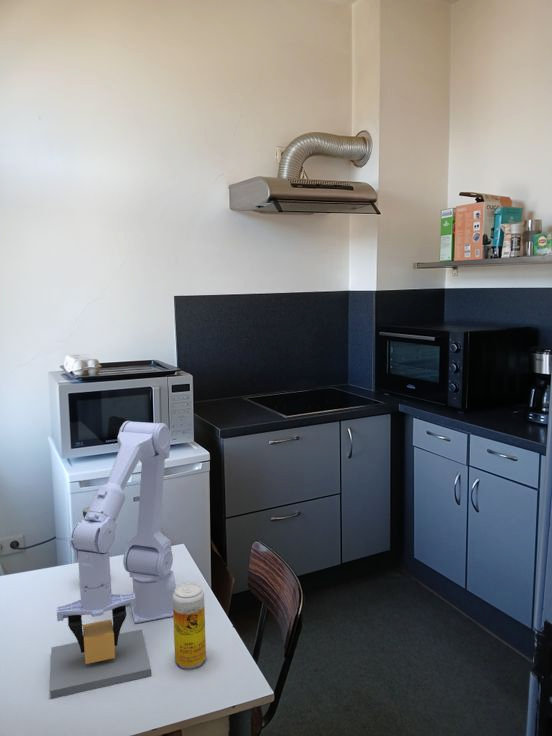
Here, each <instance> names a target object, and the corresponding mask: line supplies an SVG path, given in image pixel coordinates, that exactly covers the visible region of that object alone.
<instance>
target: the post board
mask: <svg viewBox="0 0 552 736" xmlns="http://www.w3.org/2000/svg"><path fill="white" fill-rule="evenodd" d="M144 637H145V636H144V632H143V629H137V630H131V631H127V632H122V633H119V637H118V643H117V646H115V658H112V659H108V660H103V661H98V662H94V663H89V664H85V652H83V653H81V649H80V646H79V643H78V641H77V642H72V643H67V644H62V645H58V646H51V651H50V652H51V653H50V683H49V686H50V687H49V693H50V694H49V695H50V699H55V698H60V697H63V696H68V695H73V694H76V693H77V694H78V693H81V692H86V691H90V690H95V689H100V688H104V687H109V686H112V685H117V684H123V683H126V682H131V681H136V680H139V679H144V678H148V677H151V676H152V666H151V663H150V658H149V654H148V651H147V645H146V642H145V638H144Z"/></svg>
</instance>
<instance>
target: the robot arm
mask: <svg viewBox="0 0 552 736" xmlns="http://www.w3.org/2000/svg"><path fill="white" fill-rule="evenodd" d="M171 435H172V434H171V431H170V429H169V427H168V426H167V424H166V423H165V422H160V423H159V422H158V423H157V422H145V421H144V422H141V421H132V420H126V421H124V422H123V423H122V425H121V426H120V428H119V431H118V435H117V445H118V452H117V455H116V457H115V460H114V463H113V465H112V469H111V471H110V472H109V473H110V474H109V477H108V479H107V482H106V483H105V484H103V485H101V486H99V487H98V488H97V491H96V493H95V494H94V497H93V498H92V501H91V503H90V505H89V506H90V507H89V506H88V507H89V509H88V512H87V514H86V516H85V518H84V517H83V519H82V520H80V521H79V522H77V523H76V524H75V525H74V527H73V528H72V530H71V531H72V532H71V536H70V539H69V543H70V547H71V549H72V550H73V551H74V557H75V559H76V560H77V561H78V575H79V591H80V593H79V594H80V599H79V600H77V601H72V602H70V603H68V604H65V605H61V606H57V607H56V622H62V621H64V619H67V625H68V628H69V629H70V632H72V633H73V635H74V636H75V639H76V641H77V642H78V643H79V646H80V649H81V653H83V652H85V650H84V635H83V620H82V616H83V615H87V616H88V615H90V616H91V617H93V618H94V617H99V616H100V617H101V616H103V615H104V613H105V612H108V611H110V610H111V613H112V625H113V632H114V646H117V643H118V637H119V634H121V633H120V632H121V629H122V626H123V624H124V622H125V620H126V617H127V608H128V607H129V608H131V613H132V618H133V621H134V623H135V624H139V623H144V622H149V621H155V620H160V619H164V618H170V617H173V594H174V592H175V589H176V587H177V586H176V585H177V584H176V578H175V572H174V571H173V570H171V569H172V566H173V562H174V556H173V551H172V541H171V540H170V538H168V537H167V536H166V535H165V534H164V533H162V531H161V530H162V529H161V527H162V512H163V509H162V508H163V494H164V493H163V492H164V478H165V462H166V461H165V460H166V459H169V458H170V451H171ZM139 462H140V463H141V467H140V468H141V469H140V486H139V502H138V503H139V504H138V516H137V519H138V520H137V529H136V530H137V531H136V533H134V534H133V535H132V536H130V538H128V540H127V542H126V547H125V552H124V554H123V559H122V562H123V564H122V565H123V568H124V570H125V571H126V572H127V573H129V577H130V578H131V579H132V589H133V593H126V594H125V593H124V594H123V593H120V594H119V593H116V594H114V593H113V594H112V582H111V580H112V579H111V564H110V562H111V561H110V559H111V558H110V550H111V548H112V546H113V545H114V542H115V539H116V537H115V536H116V529H117V523H116V522H117V518H118V516H119V514H120V511H121V510H122V507H123V505H124V503H125V501H126V494H125V492H124V489H125V488H126V485H127V484H128V482H129V480H130V478H131V476H132V474H133V473H134V471H135V469H136V467H137V466H138V463H139Z"/></svg>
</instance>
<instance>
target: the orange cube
mask: <svg viewBox="0 0 552 736" xmlns="http://www.w3.org/2000/svg"><path fill="white" fill-rule="evenodd" d="M82 630H83V637H84V650H85V664H89V663H94V662H98V661H103V660H108V659H112V658H115V646H114V632H113V618H112V619H111V618H110V619H105V620H100V621H94V622H90V623H86V624H82Z"/></svg>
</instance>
